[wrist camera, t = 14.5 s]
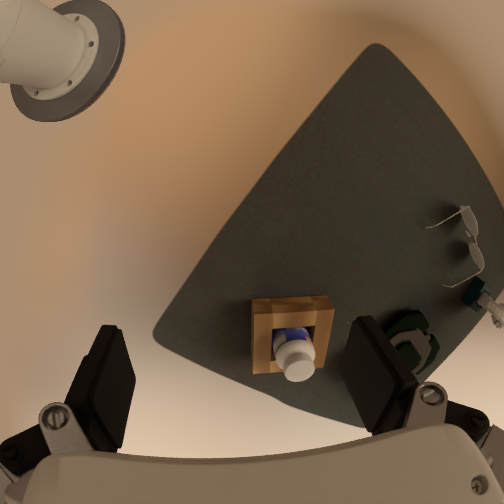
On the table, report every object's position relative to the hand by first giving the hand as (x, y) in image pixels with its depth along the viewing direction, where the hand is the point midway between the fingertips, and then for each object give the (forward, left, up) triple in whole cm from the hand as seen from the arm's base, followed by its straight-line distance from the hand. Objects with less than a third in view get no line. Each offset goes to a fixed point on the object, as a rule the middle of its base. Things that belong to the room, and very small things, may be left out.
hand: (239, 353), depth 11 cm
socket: (+8, -19, -27) cm, 34 cm away
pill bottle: (+8, -19, -27) cm, 34 cm away
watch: (+47, -16, -27) cm, 57 cm away
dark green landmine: (+29, -28, -27) cm, 49 cm away
